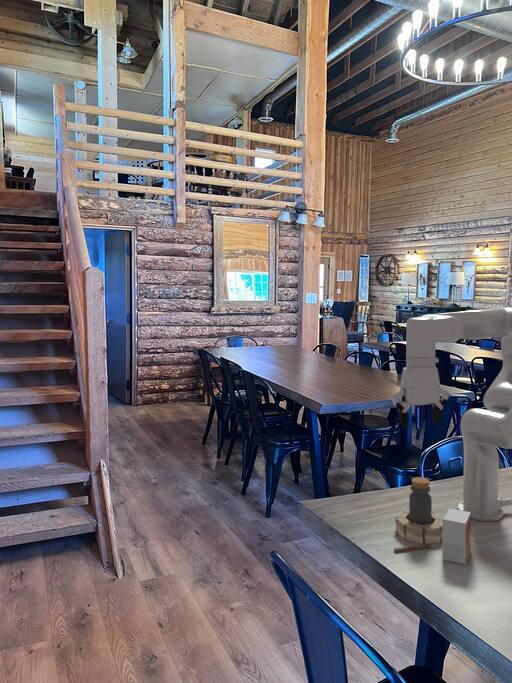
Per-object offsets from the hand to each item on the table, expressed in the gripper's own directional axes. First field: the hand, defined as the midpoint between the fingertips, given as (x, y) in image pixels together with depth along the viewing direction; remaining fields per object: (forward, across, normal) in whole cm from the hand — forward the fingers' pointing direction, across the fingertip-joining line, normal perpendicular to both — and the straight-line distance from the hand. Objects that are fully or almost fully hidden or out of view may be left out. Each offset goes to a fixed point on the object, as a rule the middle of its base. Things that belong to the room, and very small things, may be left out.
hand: (420, 424), depth 138 cm
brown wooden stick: (+30, +8, +9) cm, 32 cm away
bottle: (+31, +1, +1) cm, 31 cm away
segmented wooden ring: (+30, +1, +1) cm, 30 cm away
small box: (+31, -1, +14) cm, 34 cm away
